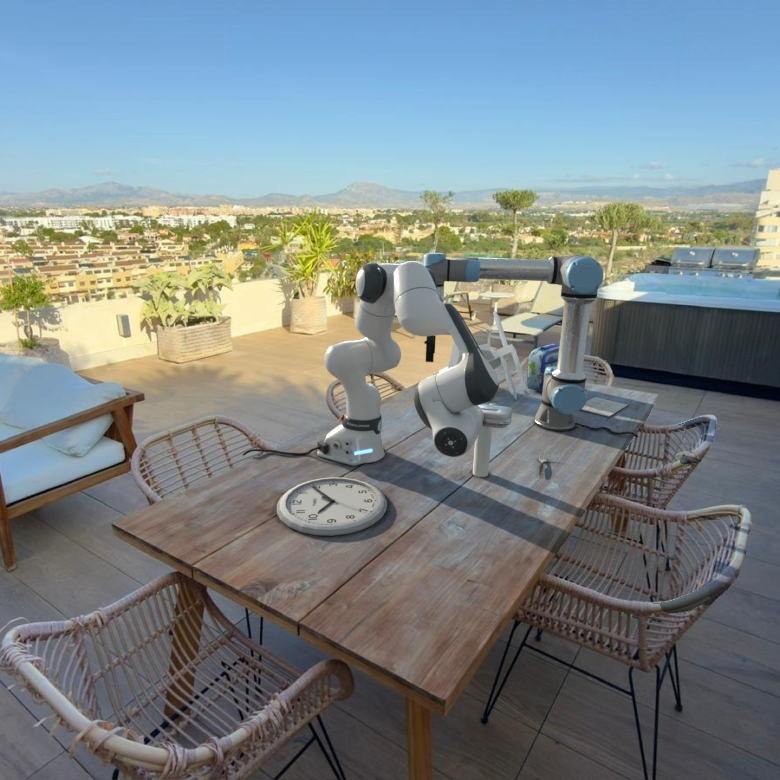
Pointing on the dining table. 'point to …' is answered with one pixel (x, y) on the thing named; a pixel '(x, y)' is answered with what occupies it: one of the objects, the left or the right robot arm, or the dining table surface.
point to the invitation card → (603, 406)
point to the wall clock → (331, 506)
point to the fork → (542, 461)
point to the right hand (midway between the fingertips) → (430, 357)
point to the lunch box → (541, 365)
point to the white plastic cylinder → (482, 452)
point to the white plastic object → (496, 358)
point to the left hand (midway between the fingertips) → (474, 404)
